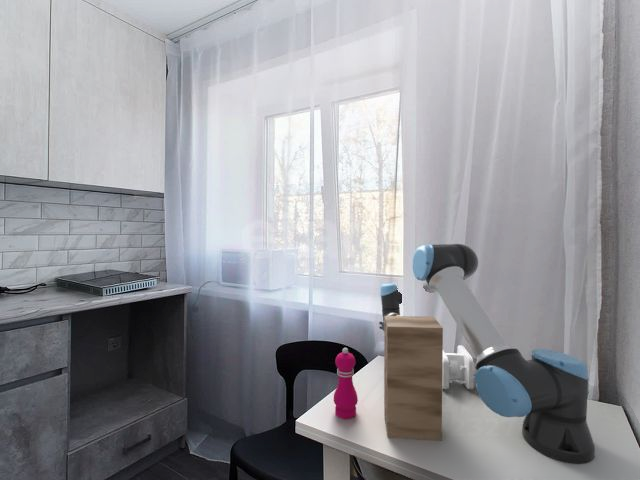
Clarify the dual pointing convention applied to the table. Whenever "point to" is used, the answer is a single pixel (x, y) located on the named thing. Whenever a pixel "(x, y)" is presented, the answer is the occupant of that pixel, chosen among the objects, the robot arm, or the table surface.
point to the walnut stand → (413, 377)
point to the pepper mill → (345, 386)
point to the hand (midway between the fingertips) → (402, 332)
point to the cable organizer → (457, 368)
